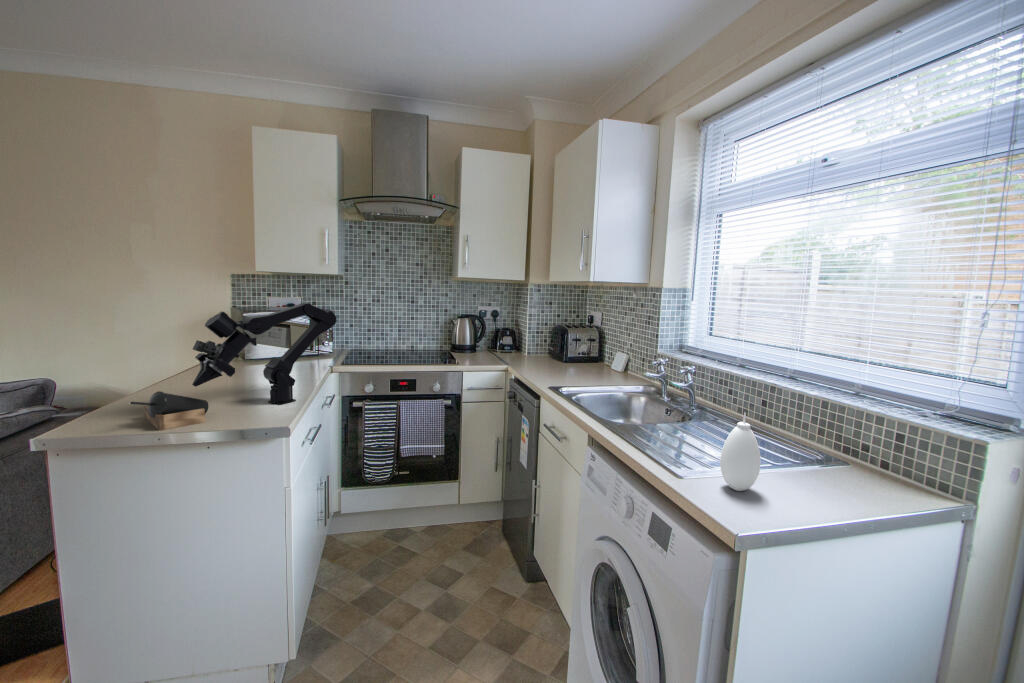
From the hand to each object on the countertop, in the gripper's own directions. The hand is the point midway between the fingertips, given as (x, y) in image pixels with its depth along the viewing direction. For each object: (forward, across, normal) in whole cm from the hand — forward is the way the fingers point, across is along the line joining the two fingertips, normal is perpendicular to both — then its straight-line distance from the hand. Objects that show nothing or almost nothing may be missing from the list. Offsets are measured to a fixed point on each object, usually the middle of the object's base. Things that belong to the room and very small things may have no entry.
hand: (193, 385), depth 138 cm
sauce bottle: (-38, +141, +53) cm, 155 cm away
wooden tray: (+10, 0, +4) cm, 11 cm away
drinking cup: (+4, -1, +7) cm, 8 cm away
